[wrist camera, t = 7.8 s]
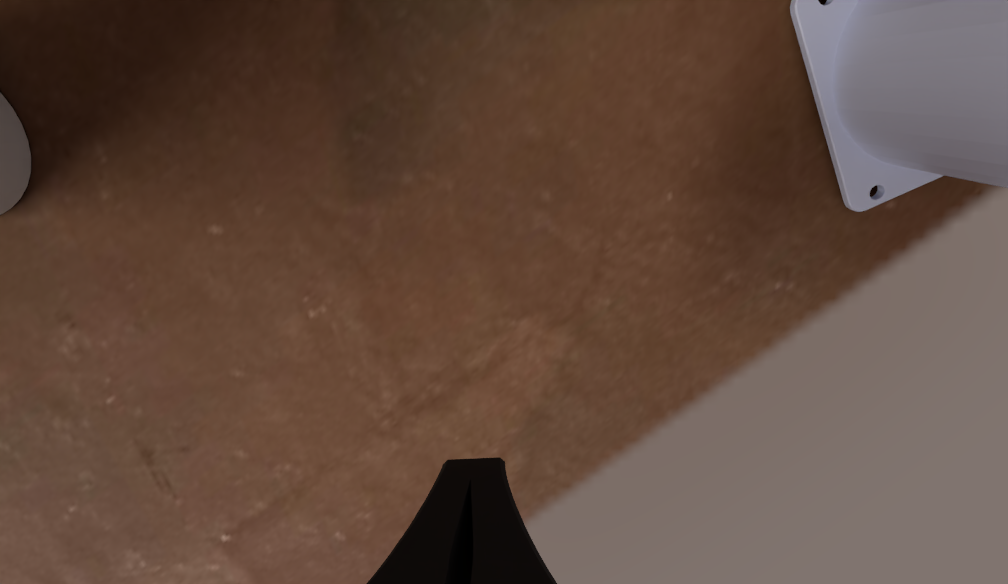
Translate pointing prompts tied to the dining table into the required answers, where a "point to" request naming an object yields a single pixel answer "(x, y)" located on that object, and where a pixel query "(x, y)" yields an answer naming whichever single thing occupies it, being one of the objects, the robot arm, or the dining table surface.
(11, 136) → the coffee cup
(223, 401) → the dining table surface
